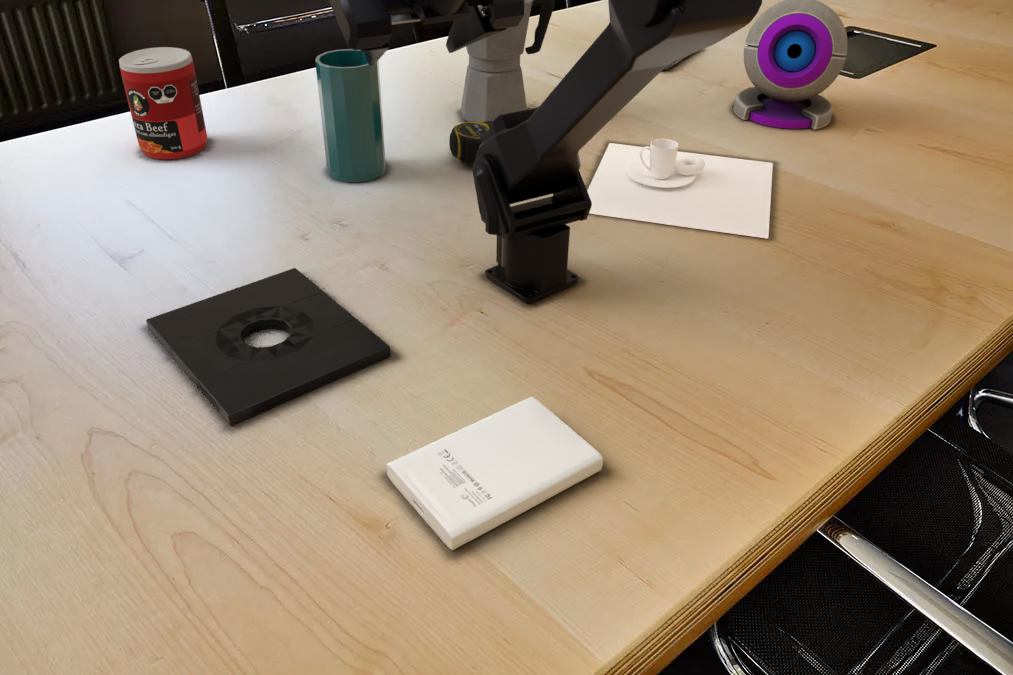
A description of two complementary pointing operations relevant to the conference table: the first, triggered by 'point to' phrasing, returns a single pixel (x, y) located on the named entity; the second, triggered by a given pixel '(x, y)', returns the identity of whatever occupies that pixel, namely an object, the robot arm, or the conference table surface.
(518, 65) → the coffeepot
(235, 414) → the drain plate
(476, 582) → the conference table surface
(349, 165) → the tumbler
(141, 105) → the canned food
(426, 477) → the hard drive
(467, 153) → the tape measure
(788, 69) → the webcam
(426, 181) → the conference table surface
